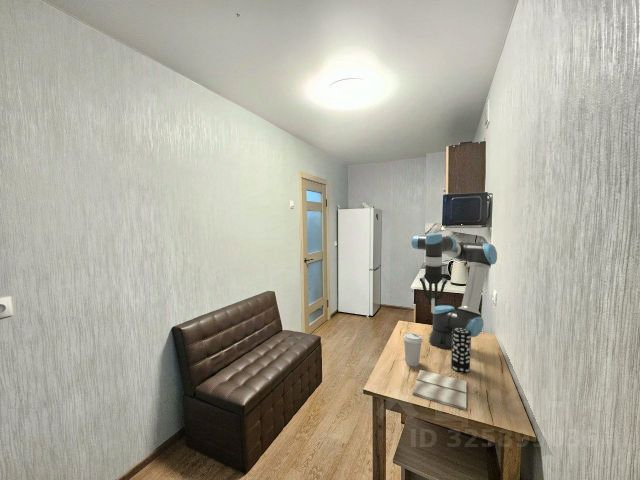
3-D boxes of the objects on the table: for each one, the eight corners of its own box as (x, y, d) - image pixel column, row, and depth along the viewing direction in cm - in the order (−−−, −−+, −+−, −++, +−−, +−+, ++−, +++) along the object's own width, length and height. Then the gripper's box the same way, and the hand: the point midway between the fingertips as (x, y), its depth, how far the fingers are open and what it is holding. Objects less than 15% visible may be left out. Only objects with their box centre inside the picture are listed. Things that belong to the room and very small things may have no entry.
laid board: (466, 395, 114) (466, 393, 114) (466, 410, 105) (466, 407, 105) (416, 382, 123) (416, 379, 123) (412, 394, 114) (412, 392, 114)
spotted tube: (452, 372, 133) (453, 332, 132) (450, 364, 141) (451, 326, 140) (471, 375, 130) (472, 334, 129) (468, 367, 138) (469, 328, 137)
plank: (466, 383, 122) (466, 381, 122) (466, 395, 114) (466, 392, 114) (419, 372, 132) (419, 369, 132) (416, 381, 124) (416, 379, 124)
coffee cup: (423, 369, 135) (424, 340, 134) (403, 367, 137) (404, 338, 136) (420, 360, 144) (421, 332, 144) (401, 358, 146) (402, 331, 145)
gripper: (448, 264, 133) (447, 311, 134) (420, 263, 139) (420, 308, 140) (447, 267, 126) (447, 316, 128) (418, 265, 132) (418, 312, 134)
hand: (433, 311), depth 134 cm, fingers closed
